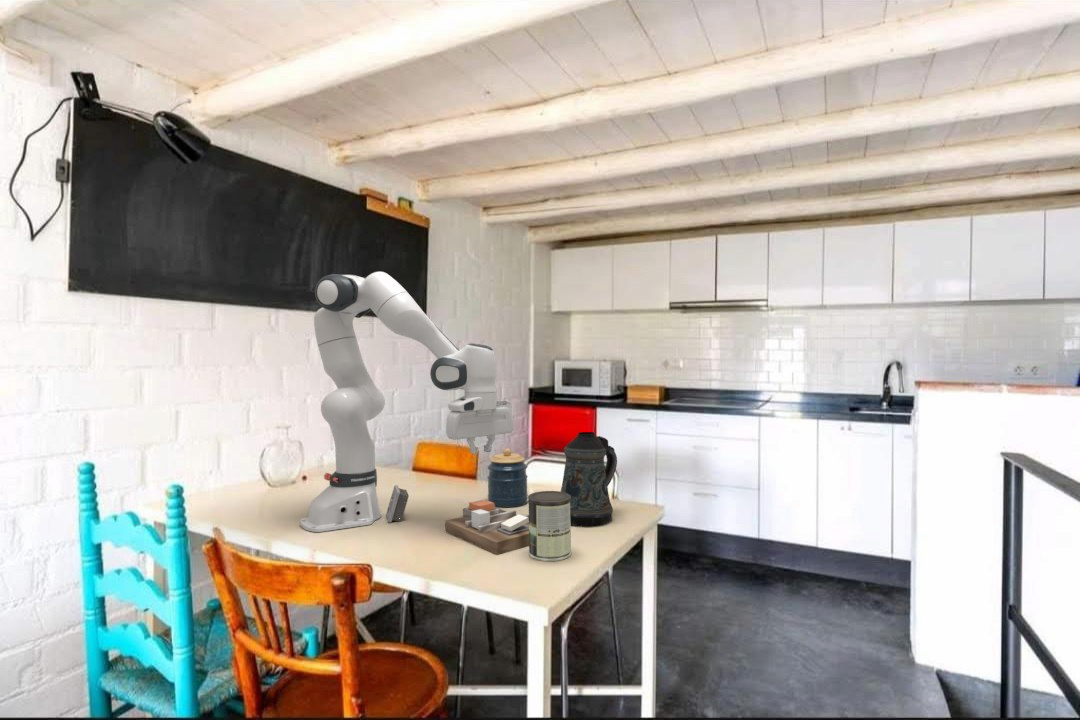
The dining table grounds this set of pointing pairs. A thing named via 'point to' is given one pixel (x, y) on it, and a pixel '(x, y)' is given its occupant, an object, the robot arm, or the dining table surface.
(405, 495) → the electrical switch
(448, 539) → the dining table surface
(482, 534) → the control panel
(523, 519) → the rocker switch
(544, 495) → the coffee can
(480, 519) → the block
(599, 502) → the beer stein
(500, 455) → the canister
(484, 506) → the push button
